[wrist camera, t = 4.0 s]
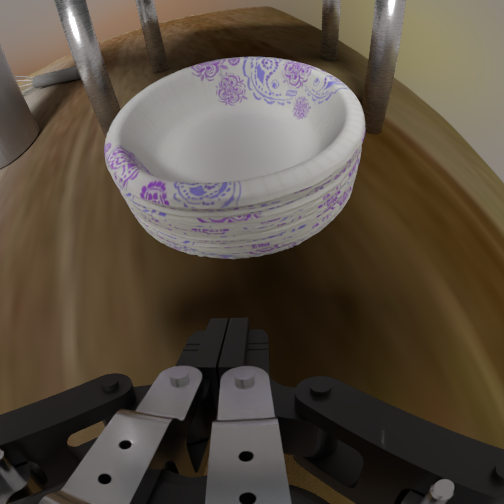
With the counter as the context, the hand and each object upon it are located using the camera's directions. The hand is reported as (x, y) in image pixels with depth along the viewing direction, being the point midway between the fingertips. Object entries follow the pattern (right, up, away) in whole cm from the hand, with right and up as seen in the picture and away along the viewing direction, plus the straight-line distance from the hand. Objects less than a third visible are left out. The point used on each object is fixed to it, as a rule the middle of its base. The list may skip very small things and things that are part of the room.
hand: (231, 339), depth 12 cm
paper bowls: (0, +8, +11) cm, 13 cm away
